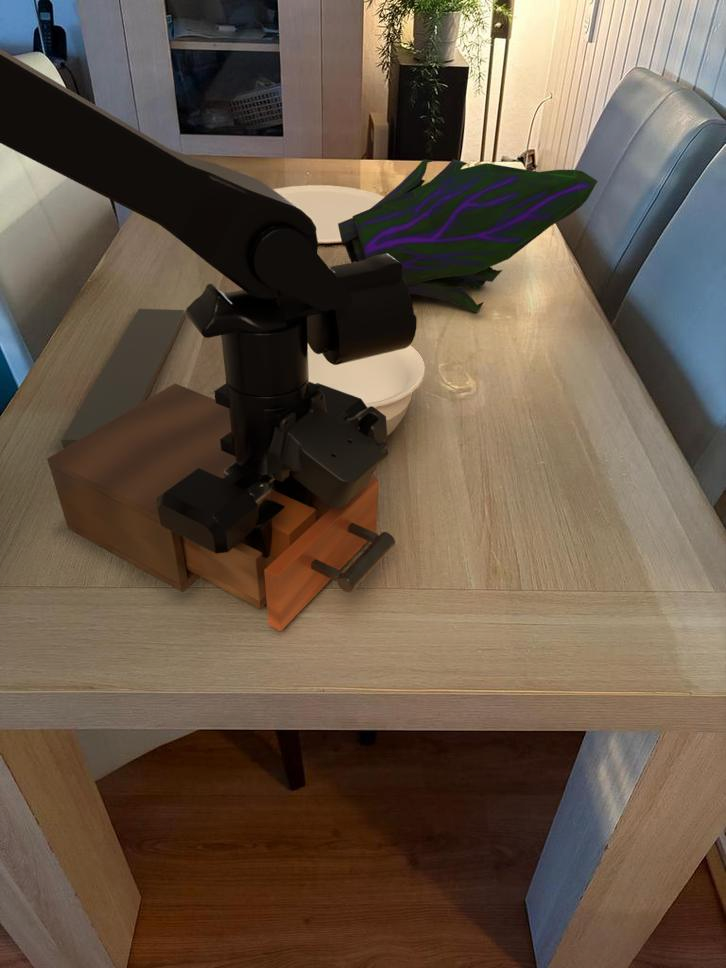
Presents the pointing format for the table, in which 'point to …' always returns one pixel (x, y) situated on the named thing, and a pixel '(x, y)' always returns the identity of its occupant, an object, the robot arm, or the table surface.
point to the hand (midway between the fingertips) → (278, 541)
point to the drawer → (299, 559)
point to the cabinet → (141, 477)
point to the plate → (329, 206)
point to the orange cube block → (289, 523)
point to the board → (127, 371)
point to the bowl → (374, 380)
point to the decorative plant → (462, 223)
